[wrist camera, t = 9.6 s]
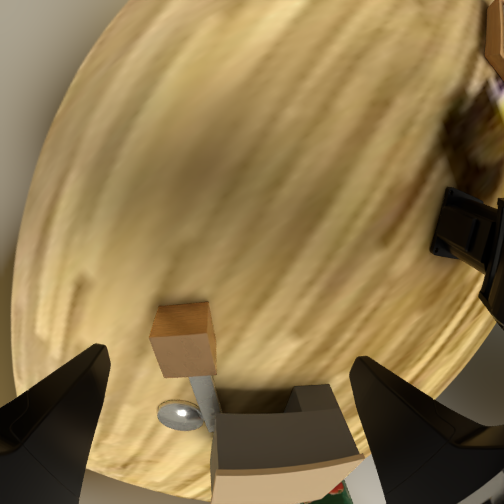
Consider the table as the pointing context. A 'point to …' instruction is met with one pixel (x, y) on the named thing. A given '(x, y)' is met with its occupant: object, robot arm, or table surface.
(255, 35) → the table surface
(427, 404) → the robot arm
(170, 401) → the token
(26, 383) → the table surface
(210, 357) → the brown block with rod
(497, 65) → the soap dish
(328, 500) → the canned tomato
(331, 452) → the cabinet
